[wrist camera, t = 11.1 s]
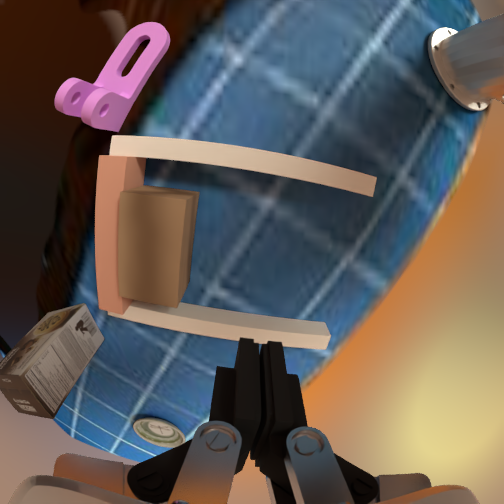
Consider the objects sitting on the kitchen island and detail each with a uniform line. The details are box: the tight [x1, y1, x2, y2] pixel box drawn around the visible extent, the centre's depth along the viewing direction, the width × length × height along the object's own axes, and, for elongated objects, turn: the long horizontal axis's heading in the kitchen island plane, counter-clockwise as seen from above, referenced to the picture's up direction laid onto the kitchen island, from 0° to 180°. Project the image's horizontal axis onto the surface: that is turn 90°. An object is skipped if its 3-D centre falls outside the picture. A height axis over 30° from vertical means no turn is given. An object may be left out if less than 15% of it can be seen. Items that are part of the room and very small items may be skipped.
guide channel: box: [95, 135, 377, 350], centre depth 26 cm, size 26×20×5 cm
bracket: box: [55, 22, 170, 132], centre depth 19 cm, size 13×6×7 cm, turn 149°
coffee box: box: [0, 303, 104, 419], centre depth 25 cm, size 9×6×16 cm
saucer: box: [133, 418, 185, 447], centre depth 39 cm, size 10×10×2 cm
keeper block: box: [118, 185, 199, 308], centre depth 25 cm, size 6×10×6 cm, turn 170°
